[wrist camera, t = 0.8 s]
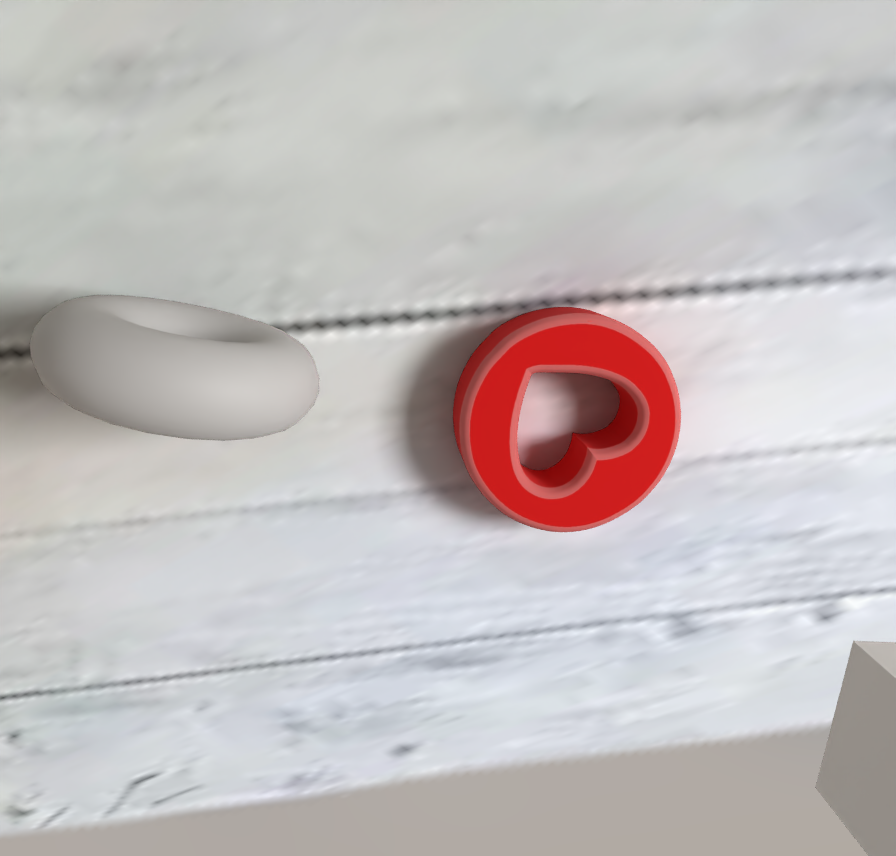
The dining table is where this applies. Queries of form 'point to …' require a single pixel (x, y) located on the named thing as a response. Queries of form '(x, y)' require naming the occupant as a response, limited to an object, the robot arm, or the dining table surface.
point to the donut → (173, 367)
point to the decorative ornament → (589, 455)
